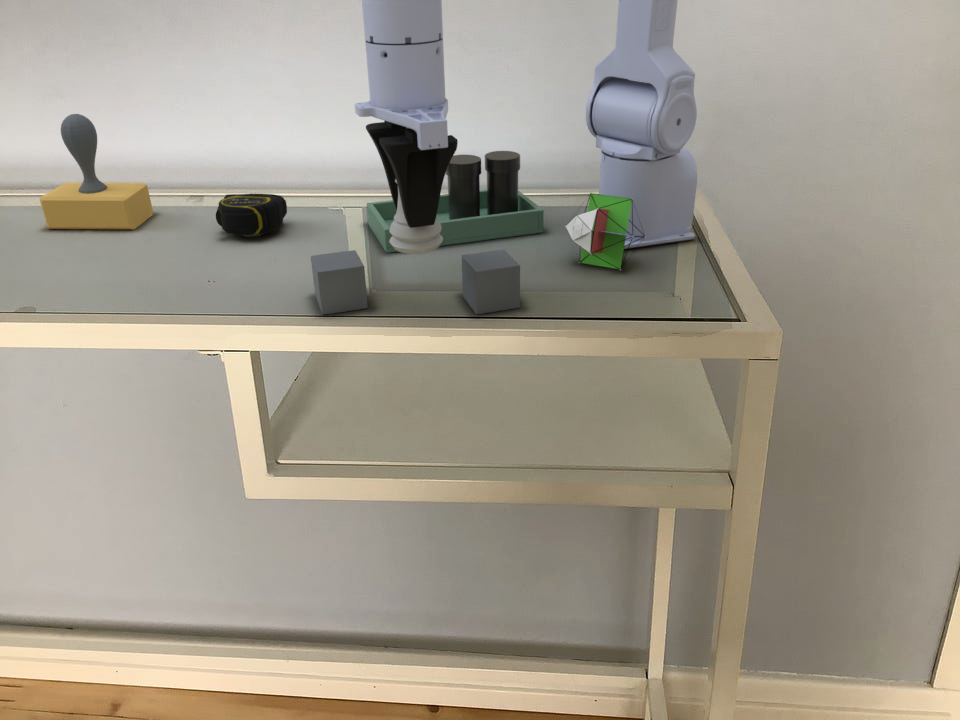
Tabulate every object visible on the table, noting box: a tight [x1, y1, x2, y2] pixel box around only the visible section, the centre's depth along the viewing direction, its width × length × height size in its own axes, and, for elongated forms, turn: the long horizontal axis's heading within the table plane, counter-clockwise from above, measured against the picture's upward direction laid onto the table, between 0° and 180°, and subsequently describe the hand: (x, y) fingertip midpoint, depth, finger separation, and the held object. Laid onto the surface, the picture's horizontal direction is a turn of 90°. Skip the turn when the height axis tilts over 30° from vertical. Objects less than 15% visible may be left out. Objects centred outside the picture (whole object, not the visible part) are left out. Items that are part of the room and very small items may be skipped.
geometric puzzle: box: [564, 192, 646, 271], centre depth 78 cm, size 7×7×8 cm
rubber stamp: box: [39, 113, 154, 230], centre depth 90 cm, size 10×6×12 cm, turn 86°
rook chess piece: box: [389, 180, 443, 255], centre depth 65 cm, size 4×4×8 cm
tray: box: [366, 188, 545, 254], centre depth 88 cm, size 17×9×2 cm, turn 108°
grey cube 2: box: [461, 249, 521, 315], centre depth 71 cm, size 4×4×4 cm
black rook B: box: [445, 154, 482, 220], centre depth 87 cm, size 4×4×7 cm
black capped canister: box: [484, 150, 521, 215], centre depth 88 cm, size 4×4×7 cm
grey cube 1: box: [310, 249, 369, 316], centre depth 71 cm, size 4×4×4 cm
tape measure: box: [215, 193, 288, 238], centre depth 88 cm, size 7×7×4 cm
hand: (414, 217), depth 66 cm, fingers closed on rook chess piece, 3 cm apart
